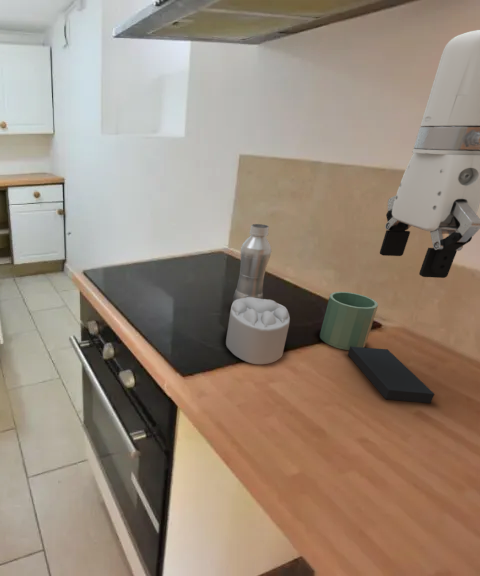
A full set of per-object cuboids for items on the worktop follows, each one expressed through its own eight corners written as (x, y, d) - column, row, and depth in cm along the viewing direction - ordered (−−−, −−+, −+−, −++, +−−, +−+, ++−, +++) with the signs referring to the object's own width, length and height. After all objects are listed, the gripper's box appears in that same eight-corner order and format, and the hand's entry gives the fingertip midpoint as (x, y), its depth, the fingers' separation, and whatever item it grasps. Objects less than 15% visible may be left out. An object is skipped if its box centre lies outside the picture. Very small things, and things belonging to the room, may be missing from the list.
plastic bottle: (263, 307, 90) (278, 224, 83) (257, 318, 85) (273, 231, 77) (235, 301, 94) (247, 221, 86) (228, 311, 88) (240, 227, 81)
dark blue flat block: (384, 357, 70) (387, 349, 70) (430, 403, 58) (434, 393, 58) (347, 354, 71) (350, 346, 71) (385, 399, 59) (388, 389, 59)
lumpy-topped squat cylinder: (281, 335, 78) (289, 297, 74) (284, 369, 67) (294, 326, 63) (228, 326, 81) (233, 289, 78) (223, 357, 70) (229, 315, 67)
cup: (353, 332, 79) (365, 292, 76) (372, 352, 72) (386, 309, 69) (313, 329, 80) (323, 290, 77) (328, 349, 73) (340, 306, 70)
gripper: (547, 144, 41) (485, 288, 48) (437, 140, 57) (401, 249, 64) (471, 143, 42) (420, 285, 49) (383, 140, 58) (354, 247, 65)
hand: (409, 265), depth 56 cm, fingers open, 9 cm apart
